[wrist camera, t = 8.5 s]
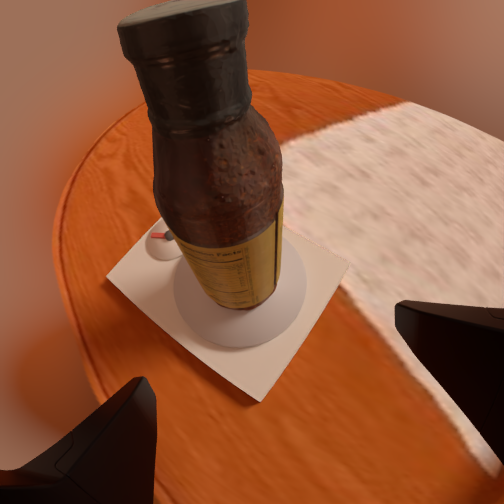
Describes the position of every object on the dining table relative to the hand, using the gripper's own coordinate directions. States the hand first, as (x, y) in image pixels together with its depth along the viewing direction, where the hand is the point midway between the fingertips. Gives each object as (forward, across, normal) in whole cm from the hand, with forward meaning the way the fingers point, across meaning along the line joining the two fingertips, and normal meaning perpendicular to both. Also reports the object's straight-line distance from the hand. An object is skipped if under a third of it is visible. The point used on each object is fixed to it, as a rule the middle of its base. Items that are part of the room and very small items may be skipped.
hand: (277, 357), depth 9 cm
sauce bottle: (+14, 0, +2) cm, 14 cm away
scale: (+17, +2, +2) cm, 17 cm away
